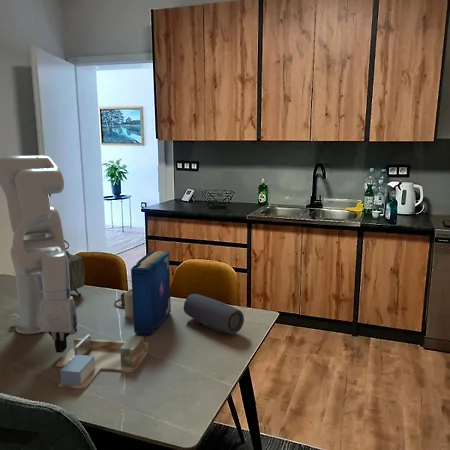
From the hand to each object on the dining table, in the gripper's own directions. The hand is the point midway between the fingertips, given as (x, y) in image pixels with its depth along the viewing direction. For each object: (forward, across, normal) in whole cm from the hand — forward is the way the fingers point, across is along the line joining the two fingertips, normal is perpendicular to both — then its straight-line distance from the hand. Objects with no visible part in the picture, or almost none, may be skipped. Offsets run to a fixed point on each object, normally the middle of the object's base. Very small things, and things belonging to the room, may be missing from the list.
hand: (61, 350), depth 134 cm
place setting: (+3, +8, +44) cm, 45 cm away
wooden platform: (+2, +13, 0) cm, 13 cm away
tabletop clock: (+2, -25, +50) cm, 55 cm away
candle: (+2, +10, +35) cm, 36 cm away
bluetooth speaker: (+2, +42, +29) cm, 51 cm away
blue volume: (+2, +20, +28) cm, 34 cm away
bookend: (+1, +8, 0) cm, 8 cm away
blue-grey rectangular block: (+1, +11, -11) cm, 16 cm away
